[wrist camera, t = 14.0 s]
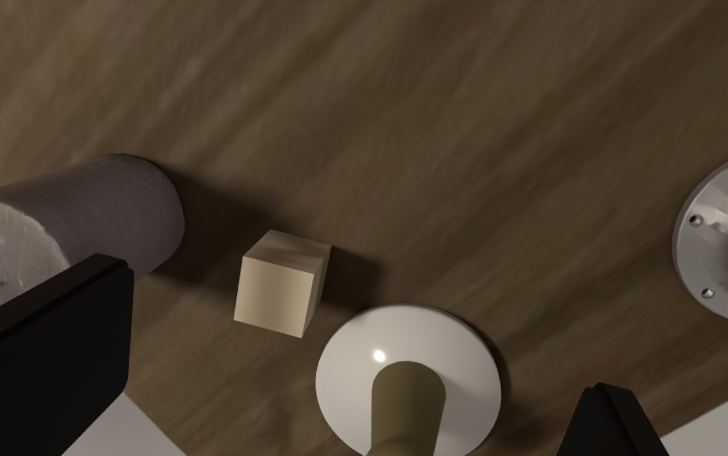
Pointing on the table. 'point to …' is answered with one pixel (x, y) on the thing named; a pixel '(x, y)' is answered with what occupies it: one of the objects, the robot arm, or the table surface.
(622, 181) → the table surface
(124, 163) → the pillar candle
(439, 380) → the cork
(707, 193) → the robot arm
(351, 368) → the plate
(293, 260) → the beech block
